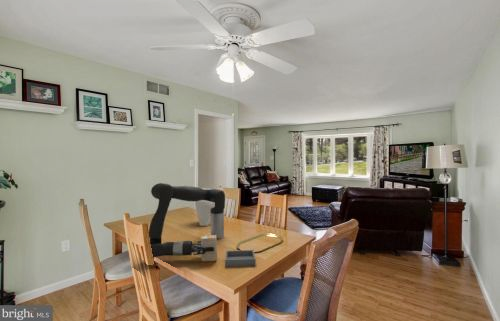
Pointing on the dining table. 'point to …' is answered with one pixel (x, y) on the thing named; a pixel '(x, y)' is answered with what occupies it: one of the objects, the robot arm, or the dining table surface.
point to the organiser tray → (240, 258)
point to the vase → (203, 211)
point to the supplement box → (209, 242)
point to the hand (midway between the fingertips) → (214, 247)
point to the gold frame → (259, 237)
